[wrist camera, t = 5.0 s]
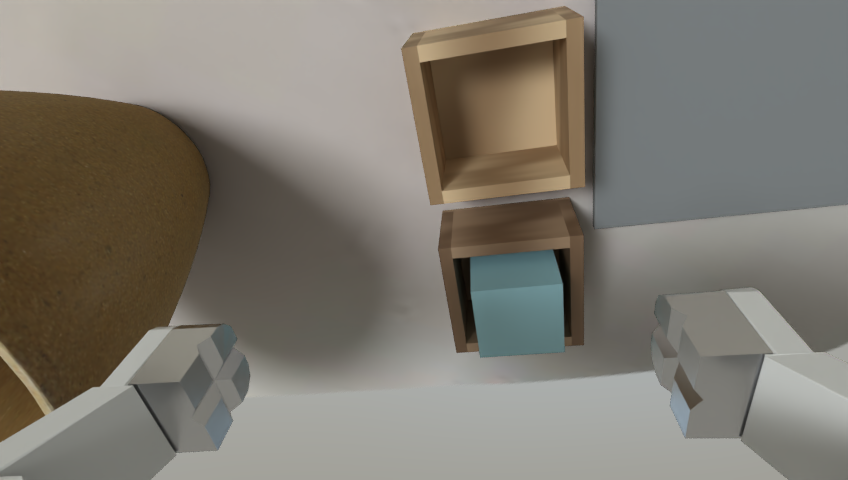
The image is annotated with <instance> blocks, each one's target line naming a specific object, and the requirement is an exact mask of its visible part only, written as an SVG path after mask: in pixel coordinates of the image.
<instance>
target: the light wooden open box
mask: <svg viewBox="0 0 848 480" xmlns="http://www.w3.org/2000/svg"><path fill="white" fill-rule="evenodd" d="M401 50H402V56H403V61H404V66H405V72H406V77H407V82H408V88H409V93H410V98H411V104H412V109H413V114H414V120H415V125H416V130H417V136H418V141H419V146H420V152H421V157H422V162H423V168H424V173H425V178H426V184H427V189H428V194H429V200H430V205H436V204H445V203H453V202H462V201H470V200H478V199H487V198H495V197H504V196H512V195H520V194H529V193H537V192H546V191H554V190H562V189H571V188H579V187H585V127H584V17H583V16H581V15H580V14H578V13H576V12H574V11H573V10H571V9H569V8H567V7H566V6H563V7H557V8H551V9H546V10H540V11H535V12H529V13H524V14H518V15H512V16H507V17H501V18H496V19H490V20H484V21H479V22H473V23H468V24H462V25H457V26H451V27H445V28H440V29H434V30H429V31H423V32H418V33H413V34H412V35H411V36H410V38H409V39H408V40H407V42H406V43H405V44H404V46H403V47H402V48H401Z"/></svg>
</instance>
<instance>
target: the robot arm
mask: <svg viewBox="0 0 848 480" xmlns="http://www.w3.org/2000/svg"><path fill="white" fill-rule="evenodd" d="M654 314H655V316H656V318H657V320H658V322H659V324H660V325H659V326H658V327H657V328H656V329H655V330H654V331H653V332H652V338H651V354H652V362H653V366H654V369H655V373H656V375H657V377H658V380H659V382H660V384H661V386H663V387H664V388H666V389H667V390H669V391H670V392H672V395H671V402H670V406H671V409H672V411H673V413H674V415H675V417H676V420H677V422H678V424H679V426H680V428H681V430H682V432H683V435H684V437H685V438H742V439H741V441H742V442H743V443H744V444H746V445H747V446H748V447H749V448H751V449H752V450H753V451H754V452H755V453H757V454H758V455H759V456H760V457H761V458H763V459H764V460H765V461H766V462H768V463H769V464H770V465H771V466H772V467H774V468H775V469H776V470H777V471H778V472H780V473H781V474H782V475H783V476H784V477H786V478H787V479H788V480H848V363H847V362H845V361H843V360H840V359H838V358H836V357H834V356H832V355H830V354H828V353H826V352H813V351H812V350H811V348H810V347H809V346H808V345H807V344H806V343H805V342H804V341H803V339H802V338H801V337H800V336H799V335H798V334H797V333H796V332H795V330H794V329H793V328H792V327H791V326H790V325H789V324H788V323H787V322H786V320H785V319H784V318H783V317H782V316H781V315H780V314H779V313H778V311H777V310H776V309H775V308H774V307H773V306H772V305H771V304H770V302H769V301H768V300H767V299H766V298H765V297H764V296H763V295H762V293H761V292H760V291H759V290H757V289H755V288H752V287H748V288H737V289H726V290H720V291H711V292H697V293H683V294H669V295H659V296H658V298H657V300H656V304H655V311H654ZM236 341H237V337H236V335H235V334H234V332H233V330H232V328H231V326H228V325H226V324H205V325H181V326H166V327H156V328H154V329H151V330H149V331H148V332H147V333H146V334H145V336H144V337H143V338H142V339H141V340H140V341H139V342H138V344H137V345H136V346H135V347H134V348H133V349H132V351H131V352H130V353H129V354H128V355H127V356H126V357H125V359H124V360H123V361H122V362H121V363H120V364H119V366H118V367H117V368H116V369H115V370H114V371H113V373H112V374H111V375H110V376H109V377H108V378H107V379H106V381H105V382H104V383H103V384H102V385H101V386H100V387H92V388H91V389H89V390H87V391H86V392H84V393H82V394H81V395H79V396H77V397H76V398H74V399H72V400H71V401H69V402H67V403H66V404H64V405H62V406H61V407H59V408H57V409H56V410H54V411H52V412H51V413H49V414H47V415H46V416H44V417H42V418H41V419H39V420H37V421H36V422H34V423H32V424H31V425H29V426H27V427H26V428H24V429H22V430H21V431H19V432H17V433H16V434H14V435H12V436H11V437H9V438H7V439H6V440H4V441H2V442H0V480H151V479H152V478H153V477H154V476H155V475H156V474H157V473H158V472H159V471H160V470H161V469H162V468H163V467H164V466H165V465H166V464H168V463H169V462H170V461H171V460H172V459H173V458H174V457H175V456H176V453H182V452H200V451H217V450H218V449H219V447H220V445H221V443H222V441H223V439H224V437H225V435H226V434H227V432H228V430H229V428H230V426H231V424H232V422H233V419H232V416H231V413H230V412H231V411H232V410H233V409H235V408H236V407H237V406H238V405H240V404H241V403H242V402H243V400H244V398H245V396H246V394H247V391H248V388H249V381H250V371H249V365H248V362H247V360H246V358H245V355H243V354H242V353H241V352H239V351H238V350H236V349H235V348H234V346H235V343H236Z"/></svg>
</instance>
